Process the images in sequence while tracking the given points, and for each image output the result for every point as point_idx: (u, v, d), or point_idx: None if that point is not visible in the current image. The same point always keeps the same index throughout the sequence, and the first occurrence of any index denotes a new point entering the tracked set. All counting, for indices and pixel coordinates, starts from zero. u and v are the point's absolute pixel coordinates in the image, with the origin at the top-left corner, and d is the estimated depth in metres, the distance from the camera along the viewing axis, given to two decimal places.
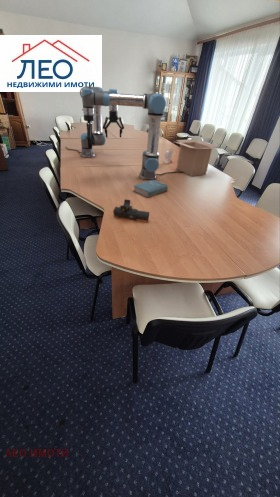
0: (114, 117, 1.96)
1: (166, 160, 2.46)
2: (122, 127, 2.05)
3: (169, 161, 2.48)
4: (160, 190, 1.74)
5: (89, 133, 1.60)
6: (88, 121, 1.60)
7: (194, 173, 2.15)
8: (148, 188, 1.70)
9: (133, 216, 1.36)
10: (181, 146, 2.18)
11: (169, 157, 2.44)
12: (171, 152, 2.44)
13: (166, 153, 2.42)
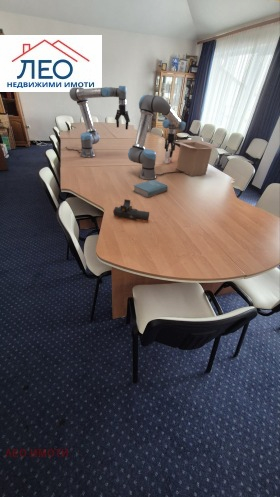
0: (121, 110, 2.25)
1: (166, 160, 2.46)
2: None
3: (169, 161, 2.48)
4: (160, 190, 1.74)
5: (174, 147, 2.38)
6: (173, 138, 2.34)
7: (194, 173, 2.15)
8: (148, 188, 1.70)
9: (133, 216, 1.36)
10: (181, 146, 2.18)
11: (169, 157, 2.44)
12: None
13: (166, 153, 2.42)
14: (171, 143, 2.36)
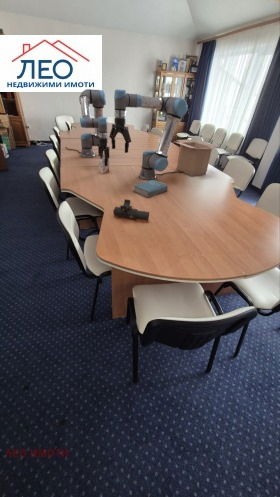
0: (102, 144, 1.95)
1: (101, 169, 2.06)
2: None
3: (105, 170, 2.08)
4: (160, 190, 1.74)
5: (129, 137, 1.52)
6: (123, 124, 1.51)
7: (194, 173, 2.15)
8: (148, 188, 1.70)
9: (133, 216, 1.36)
10: (181, 146, 2.18)
11: (103, 165, 2.04)
12: None
13: (100, 161, 2.02)
14: (122, 132, 1.52)
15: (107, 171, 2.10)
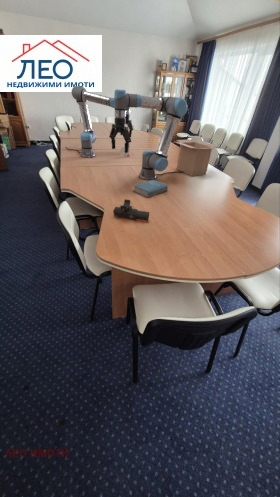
0: None
1: (123, 154, 2.56)
2: None
3: (126, 155, 2.58)
4: (160, 190, 1.74)
5: (129, 137, 1.52)
6: (123, 124, 1.51)
7: (194, 173, 2.15)
8: (148, 188, 1.70)
9: (133, 216, 1.36)
10: (181, 146, 2.18)
11: None
12: None
13: (122, 147, 2.52)
14: (122, 132, 1.52)
15: (128, 155, 2.61)
